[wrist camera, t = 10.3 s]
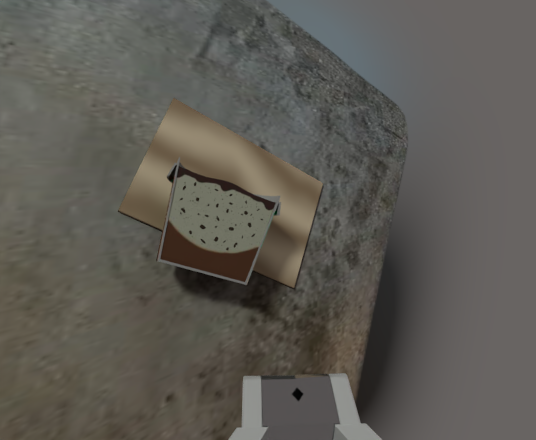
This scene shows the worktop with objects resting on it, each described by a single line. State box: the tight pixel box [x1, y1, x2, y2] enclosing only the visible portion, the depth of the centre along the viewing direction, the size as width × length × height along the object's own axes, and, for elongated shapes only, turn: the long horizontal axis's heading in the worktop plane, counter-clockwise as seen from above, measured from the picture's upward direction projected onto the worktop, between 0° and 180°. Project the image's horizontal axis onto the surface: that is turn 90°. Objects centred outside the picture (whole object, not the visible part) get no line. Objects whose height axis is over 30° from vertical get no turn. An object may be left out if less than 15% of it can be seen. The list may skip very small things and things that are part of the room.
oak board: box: [118, 98, 323, 288], centre depth 47 cm, size 15×22×1 cm
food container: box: [156, 157, 281, 285], centre depth 42 cm, size 12×6×10 cm
